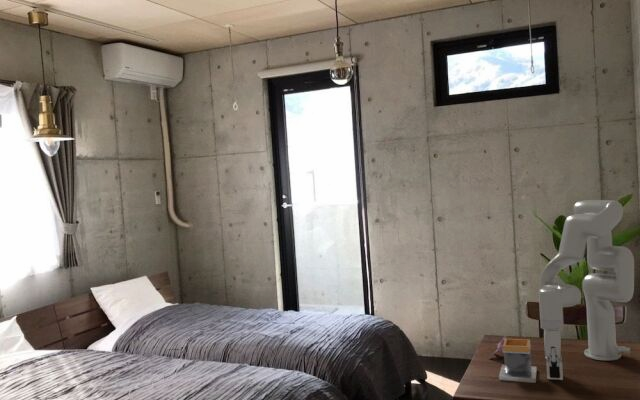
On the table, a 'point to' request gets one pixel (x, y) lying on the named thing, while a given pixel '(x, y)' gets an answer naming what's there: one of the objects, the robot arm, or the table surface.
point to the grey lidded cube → (558, 365)
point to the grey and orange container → (517, 361)
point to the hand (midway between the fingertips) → (554, 374)
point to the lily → (500, 345)
